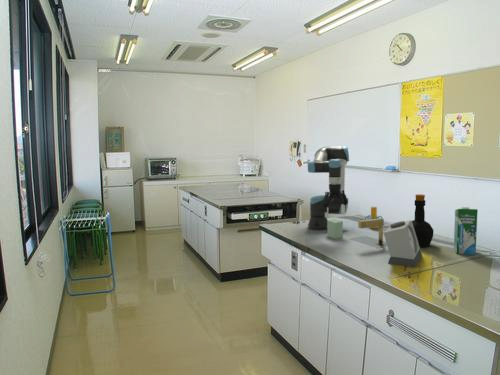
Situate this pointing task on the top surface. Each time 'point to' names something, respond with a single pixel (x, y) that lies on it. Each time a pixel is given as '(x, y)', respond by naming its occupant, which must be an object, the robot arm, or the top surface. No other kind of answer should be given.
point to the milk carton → (465, 231)
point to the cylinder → (373, 216)
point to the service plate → (369, 241)
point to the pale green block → (335, 228)
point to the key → (373, 223)
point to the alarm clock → (403, 244)
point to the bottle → (422, 223)
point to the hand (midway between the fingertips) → (334, 215)
